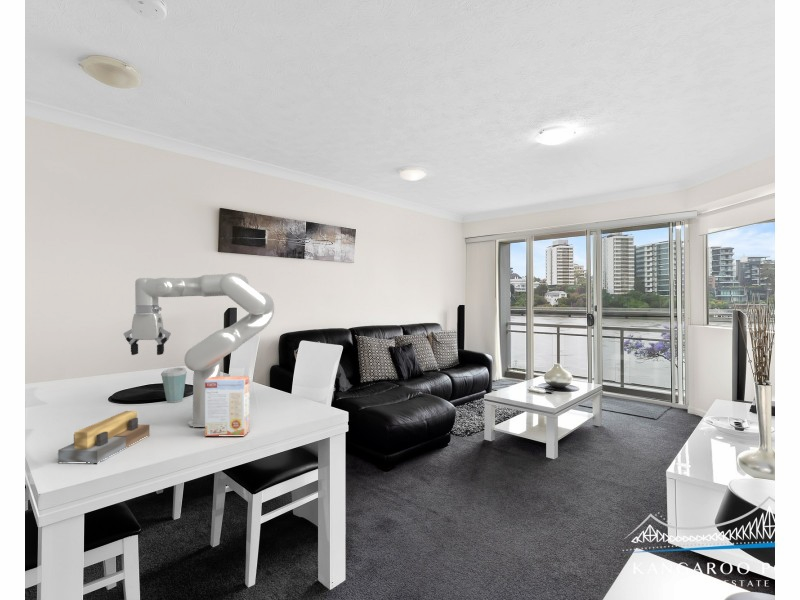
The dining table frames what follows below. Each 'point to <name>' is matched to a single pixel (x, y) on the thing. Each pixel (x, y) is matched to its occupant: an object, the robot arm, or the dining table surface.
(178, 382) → the disposable coffee cup
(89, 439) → the bar
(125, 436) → the door and jamb
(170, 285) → the robot arm
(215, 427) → the cracker box
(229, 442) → the dining table surface
